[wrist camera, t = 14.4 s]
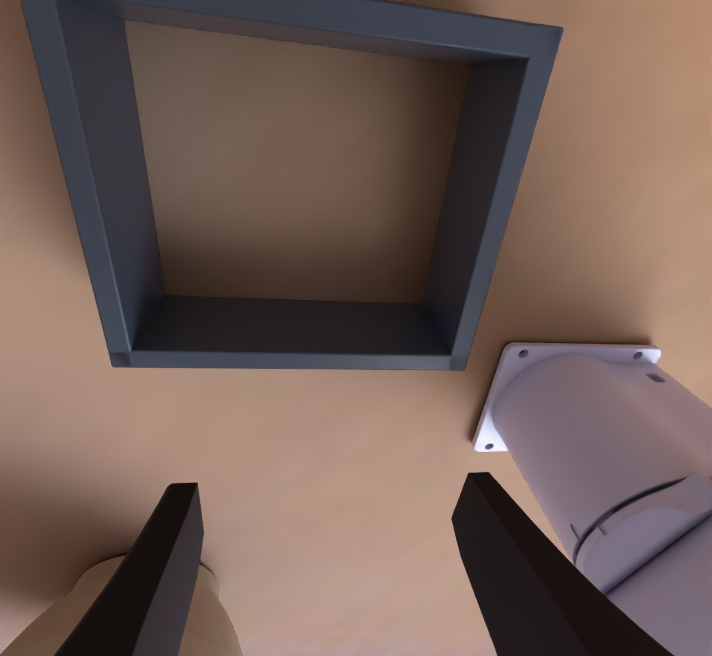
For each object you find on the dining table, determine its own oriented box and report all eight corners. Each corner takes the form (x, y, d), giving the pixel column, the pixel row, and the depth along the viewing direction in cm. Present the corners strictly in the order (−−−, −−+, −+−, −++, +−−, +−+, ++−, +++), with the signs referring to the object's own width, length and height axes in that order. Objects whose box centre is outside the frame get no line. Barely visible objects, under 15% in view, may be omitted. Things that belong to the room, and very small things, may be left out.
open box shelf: (496, 42, 15) (564, 27, 11) (434, 318, 21) (464, 371, 17) (92, -16, 13) (3, -59, 9) (150, 310, 18) (111, 368, 15)
